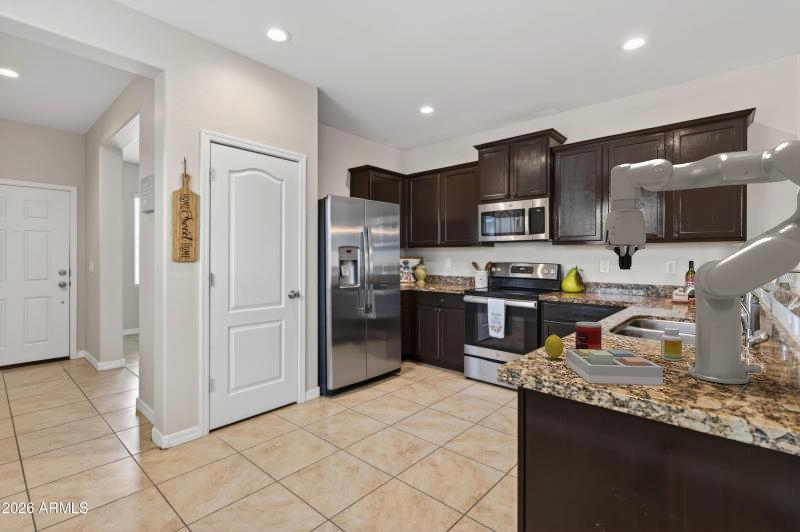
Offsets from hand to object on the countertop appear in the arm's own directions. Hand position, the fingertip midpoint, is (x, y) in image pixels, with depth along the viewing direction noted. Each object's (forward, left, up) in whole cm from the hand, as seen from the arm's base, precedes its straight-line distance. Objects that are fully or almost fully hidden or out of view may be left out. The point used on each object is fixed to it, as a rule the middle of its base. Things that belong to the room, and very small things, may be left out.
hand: (625, 269), depth 113 cm
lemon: (+18, -8, -29) cm, 35 cm away
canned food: (+6, -12, -29) cm, 32 cm away
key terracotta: (+3, +11, -27) cm, 29 cm away
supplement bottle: (-19, -11, -29) cm, 37 cm away
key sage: (+11, +11, -25) cm, 30 cm away
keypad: (+7, +7, -29) cm, 31 cm away
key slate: (+3, +3, -27) cm, 27 cm away
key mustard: (+11, +3, -27) cm, 29 cm away
